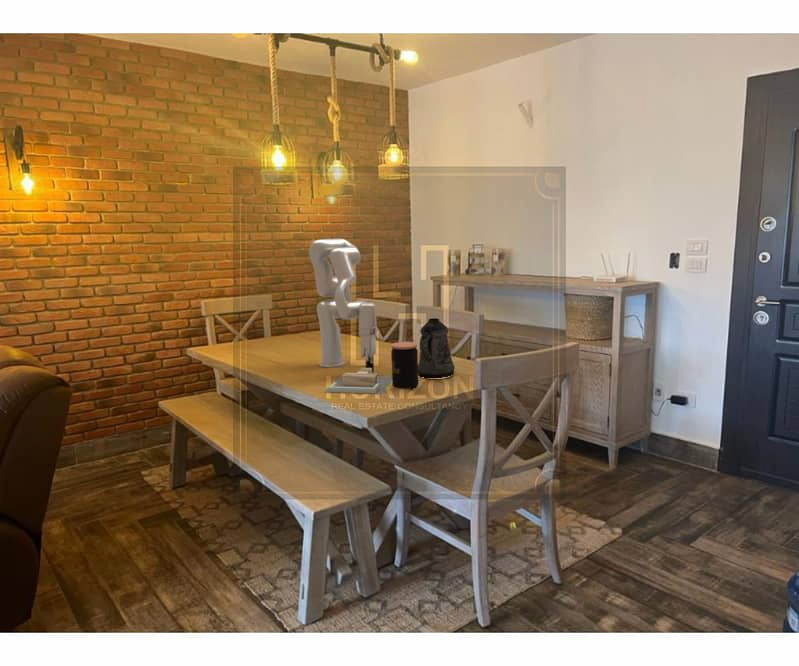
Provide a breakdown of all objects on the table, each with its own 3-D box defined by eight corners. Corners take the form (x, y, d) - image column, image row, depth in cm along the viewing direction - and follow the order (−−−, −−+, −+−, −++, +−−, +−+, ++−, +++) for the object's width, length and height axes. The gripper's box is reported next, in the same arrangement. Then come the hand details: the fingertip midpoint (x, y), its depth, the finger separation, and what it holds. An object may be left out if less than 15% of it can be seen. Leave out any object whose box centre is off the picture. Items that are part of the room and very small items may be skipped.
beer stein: (453, 369, 264) (452, 315, 260) (456, 381, 245) (455, 322, 241) (417, 370, 265) (415, 316, 260) (417, 382, 246) (415, 323, 241)
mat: (341, 377, 257) (341, 371, 256) (394, 378, 252) (394, 372, 251) (322, 394, 232) (322, 387, 231) (381, 396, 227) (380, 389, 226)
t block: (351, 376, 254) (351, 367, 254) (382, 377, 251) (382, 368, 251) (342, 385, 241) (342, 375, 241) (375, 385, 238) (375, 376, 238)
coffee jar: (391, 384, 244) (390, 342, 240) (417, 383, 244) (416, 341, 241) (393, 391, 233) (391, 347, 230) (419, 390, 234) (418, 346, 231)
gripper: (364, 328, 262) (366, 367, 265) (355, 334, 247) (357, 376, 251) (380, 328, 260) (382, 367, 264) (372, 334, 246) (374, 376, 249)
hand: (370, 371), depth 257 cm, fingers closed
